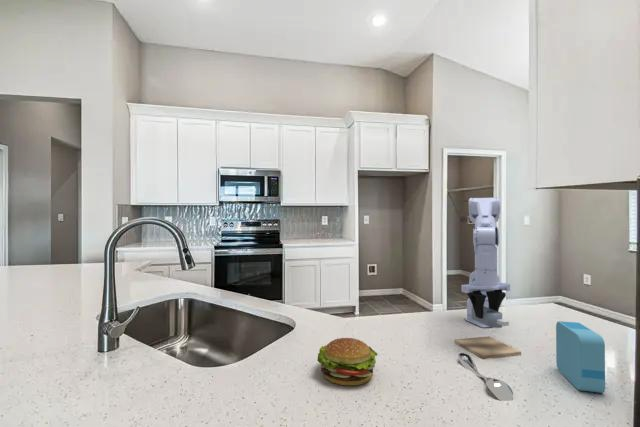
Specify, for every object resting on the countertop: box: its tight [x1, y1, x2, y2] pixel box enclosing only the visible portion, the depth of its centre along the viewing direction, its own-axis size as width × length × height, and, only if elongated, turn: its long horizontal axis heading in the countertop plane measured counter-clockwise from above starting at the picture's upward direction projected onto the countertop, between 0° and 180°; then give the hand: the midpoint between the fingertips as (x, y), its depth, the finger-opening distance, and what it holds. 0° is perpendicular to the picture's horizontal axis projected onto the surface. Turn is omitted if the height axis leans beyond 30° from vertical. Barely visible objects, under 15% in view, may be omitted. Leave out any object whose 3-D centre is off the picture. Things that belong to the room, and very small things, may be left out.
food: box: [316, 337, 378, 386], centre depth 79 cm, size 14×14×8 cm
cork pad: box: [453, 336, 522, 360], centre depth 94 cm, size 12×12×1 cm
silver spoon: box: [457, 352, 514, 402], centre depth 77 cm, size 20×4×5 cm
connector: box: [471, 306, 510, 329], centre depth 93 cm, size 12×4×4 cm, turn 13°
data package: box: [555, 320, 606, 394], centre depth 75 cm, size 12×4×12 cm, turn 165°
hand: (486, 317), depth 94 cm, fingers closed on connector, 4 cm apart
